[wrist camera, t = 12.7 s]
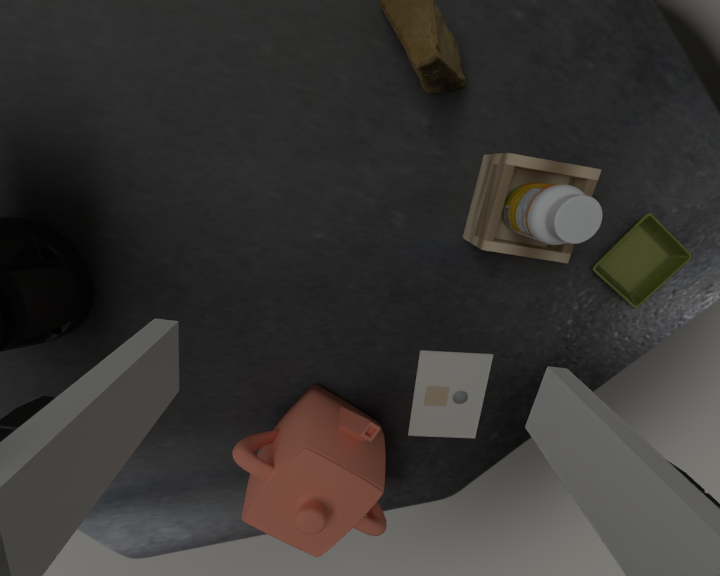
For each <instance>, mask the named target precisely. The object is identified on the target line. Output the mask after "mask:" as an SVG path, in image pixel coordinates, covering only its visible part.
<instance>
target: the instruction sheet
mask: <svg viewBox="0 0 720 576" xmlns="http://www.w3.org/2000/svg"><path fill="white" fill-rule="evenodd" d="M492 359H493V354H481V353H462V352H443V351H424V350H420V354H419V361H418V368H417V375H416V382H415V389H414V396H413V403H412V410H411V417H410V424H409V431H408V436H431V437H456V438H475V436H476V432H477V427H478V423H479V418H480V413H481V409H482V404H483V400H484V395H485V391H486V386H487V382H488V377H489V372H490V368H491V363H492Z"/></svg>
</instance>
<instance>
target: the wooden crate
mask: <svg viewBox="0 0 720 576" xmlns="http://www.w3.org/2000/svg"><path fill="white" fill-rule="evenodd" d="M600 173H601V169H595V168H589V167H584V166H578V165H573V164H567V163H562V162H556V161H550V160H545V159H539V158H534V157H528V156H522V155H517V154H511V153H501V154H489V155H484V156H483V160H482V164H481V168H480V172H479V176H478V180H477V183H476V187H475V191H474V195H473V199H472V203H471V207H470V211H469V215H468V219H467V223H466V226H465V230H464V234H463V238H464V239H465V240H467V241H468V242H470V243H471V244H473V245H475V246H476V247H478V248H479V249H481V250H486V251H492V252H498V253H505V254H511V255H518V256H524V257H530V258H537V259H543V260H550V261H556V262H562V263H568V262H569V259H570V256H571V253H572V251H573V248H574V245H575V244H571V243H565V244H561V245H549V244H545V243H542V242H539V241H536V240H534V239H531V238H528V237H526V236H523V235H520V234H517V233H515V232H513V231H511V230H509V229H508V228H507V227H506V226H505V224H504V223H503V221H502V217H501V213H502V210H503V206H504V203H505V199H506V196H507V194H508V193H509V192H510V191H511V190H512V189H513V188H515V187H516V186H518V185H521V184H524V183H547V184H563V185H570V186H574V187H576V188H578V189H580V190H581V191H582V192H583V193H584V194H585V195H586V196H590V197H592V195H593V192H594V189H595V187H596V184H597V181H598V178H599V176H600Z"/></svg>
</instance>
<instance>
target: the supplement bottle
mask: <svg viewBox="0 0 720 576" xmlns="http://www.w3.org/2000/svg"><path fill="white" fill-rule="evenodd" d="M501 217H502V221H503V223H504V224H505V226H506V227H507V228H508V229H509V230H511V231H513V232H515V233H517V234H520V235H523V236H526V237H528V238H531V239H534V240H536V241H539V242H542V243H545V244H549V245H561V244H565V243H571V244H577V243H581V242H584V241H586V240H588V239H589V238H591V237H592V236H593V235H594V234H595V233H596V232H597V230H598V229H599V227H600V225H601V221H602V209H601V206H600V204H599V203H598V202H597V201H596V200H595V199H594V198H592V197H590V196H586V195H585V194H584V193H583V192H582V191H581V190H580V189H578V188H576V187H574V186H570V185H563V184H547V183H524V184H521V185H518V186H516V187H515V188H513V189H512V190H511V191H510V192H509V193H508V194H507V196H506V199H505V203H504V206H503V210H502V213H501Z"/></svg>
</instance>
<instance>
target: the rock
mask: <svg viewBox="0 0 720 576" xmlns="http://www.w3.org/2000/svg"><path fill="white" fill-rule="evenodd" d="M379 6H380V8H381V9H382V11H383V13H384V14H385V16H386V18H387V19H388V21H389V22H390V24H391V26H392V28H393V29H394V31H395V33H396V35H397V37H398V39H399V41H400V42H401V44H402V46H403V48H404V49H405V51H406V54H407V56H408V59H409V60H410V62H411V64H412V67H413V69H414V71H415V72H416V74H417V76H418V77H419V79H420V83H421V85H422V88H423V89H424V91H425V92H426V93H428V94H430V93H445V92H451V91H453V90H456V89H457V88H459V87H462V86H465V83H466V78H465V76H464V74H463V73H462V69H461V60H460V55H459V46H458V44H457V42H455V40H454V38H453V34H452V33H451V32H450V31H448V29H447V27H446V25H445V22H444V19H443V16H442V14H441V12H440V10H439V9H438V8H437V6H436V5H435V3H434V0H381V1H380V2H379Z"/></svg>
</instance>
